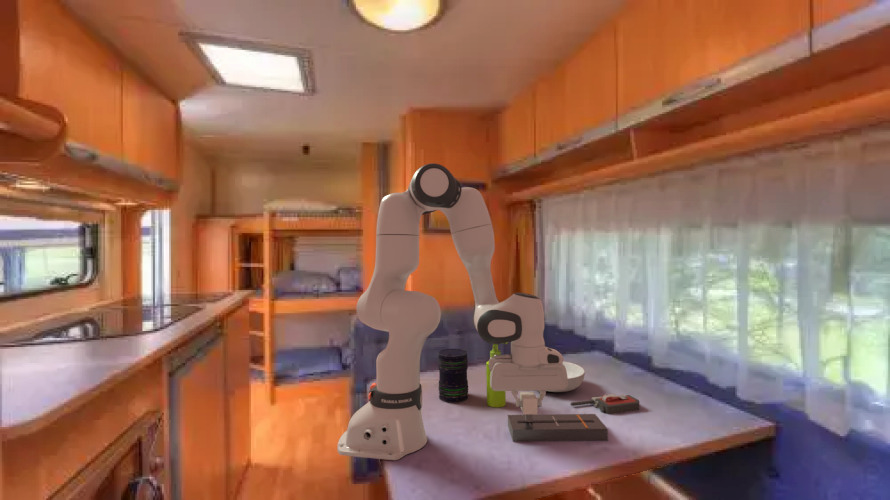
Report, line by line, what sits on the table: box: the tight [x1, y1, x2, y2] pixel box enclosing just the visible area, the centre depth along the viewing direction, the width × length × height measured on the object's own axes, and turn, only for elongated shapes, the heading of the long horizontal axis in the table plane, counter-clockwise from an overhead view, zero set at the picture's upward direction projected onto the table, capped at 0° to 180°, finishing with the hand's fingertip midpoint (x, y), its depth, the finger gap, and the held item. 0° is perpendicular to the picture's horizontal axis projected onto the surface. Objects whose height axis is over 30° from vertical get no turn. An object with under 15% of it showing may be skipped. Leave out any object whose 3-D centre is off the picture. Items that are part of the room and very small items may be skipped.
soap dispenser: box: [485, 342, 509, 408], centre depth 126 cm, size 6×7×20 cm
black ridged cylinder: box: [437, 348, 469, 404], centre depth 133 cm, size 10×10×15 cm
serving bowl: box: [546, 360, 586, 393], centre depth 140 cm, size 21×21×7 cm
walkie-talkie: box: [570, 393, 641, 415], centre depth 122 cm, size 9×4×20 cm
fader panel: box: [507, 413, 609, 442], centre depth 106 cm, size 24×9×3 cm, turn 89°
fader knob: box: [519, 391, 539, 422], centre depth 106 cm, size 4×5×7 cm
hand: (528, 406), depth 106 cm, fingers closed on fader knob, 4 cm apart
